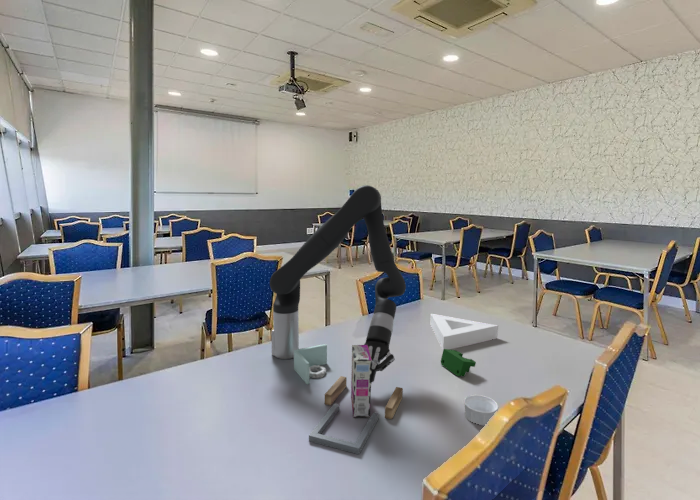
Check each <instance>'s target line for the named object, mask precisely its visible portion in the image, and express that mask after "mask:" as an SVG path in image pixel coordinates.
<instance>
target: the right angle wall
mask: <svg viewBox="0 0 700 500" xmlns="http://www.w3.org/2000/svg"><path fill="white" fill-rule="evenodd" d="M326 364H328V345H327V343H324V344H323V343H322V344H319V345H313V346H308V347H303V348H299V349H297V350H294V358H293V370H294V371H295V372H296V373H297V375H298V376H299V377H300V378H301V379H302V381H303V382H304V384H305V385H309V384H310V378H313V379H319V378H323V377H324V376H325V375H326V373H327V369H326V367H324V366H323V365H326Z"/></svg>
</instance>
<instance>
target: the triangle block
mask: <svg viewBox="0 0 700 500" xmlns="http://www.w3.org/2000/svg"><path fill="white" fill-rule="evenodd" d="M429 320H430V323H429V326H430V325H431V326H430V327H432V328H431V330H432V329H433V330H432V332H433V331H434V332H433V333H435V334H434V336H435V338H436V340H437V342H438V344H439V345H440V348H441V350H442V351H443V350H444V349H449V350H454V349H457V348H462V347H467V346H470V345H471V346H472V345H475V344H479V343H483V342H488V341H491V340H492V339H493V340H496V338H497V339H498V333H499V332H498V331H499V325H498V324H493V323H487V322H486V323H485V322H481V321H480V322H479V321H476V320H474V321H473V320H470V319H463V318H458V317H452V316H448V315H441V314H436V313H435V314H434V313H430V319H429Z"/></svg>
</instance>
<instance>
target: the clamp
mask: <svg viewBox="0 0 700 500" xmlns="http://www.w3.org/2000/svg"><path fill="white" fill-rule="evenodd" d="M463 355H464V354H463V353H462V352H460V351H459V350H456V349H455V350H454V349H450V350H449V349H444V350H442V355H441V359H440V365H441V366H442V367H444V368H445V369H447V370H448V371H449V372H451V373H452V374H454V375H456V376H457V377H465V376H466V374H467V373H470V370H471V367H474V368H475V367H476V364H477V363H476V361H475V360H473V359H472V358H467V357H464V356H463Z"/></svg>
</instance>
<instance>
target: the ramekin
mask: <svg viewBox="0 0 700 500" xmlns="http://www.w3.org/2000/svg"><path fill="white" fill-rule="evenodd" d="M463 405H464V415H465V418H466V420H468V421H469V422H470V421H471V422H470V423H472V422H473V423H472V424H474V423H476V424H475V425H477V424H479V425H478V426H483V427H484V426H485V424H487V422H488V421H489V419H490V418H491V417H492V416H493V415H494V413H495V412H496V411H497V412H498V410H499V404H498V403H497V402H496V400H494V399H493V398H491V397H489V396H486V395H482V394H472V395H467V396H466V397H465V398H463ZM485 427H486V426H485Z"/></svg>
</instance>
